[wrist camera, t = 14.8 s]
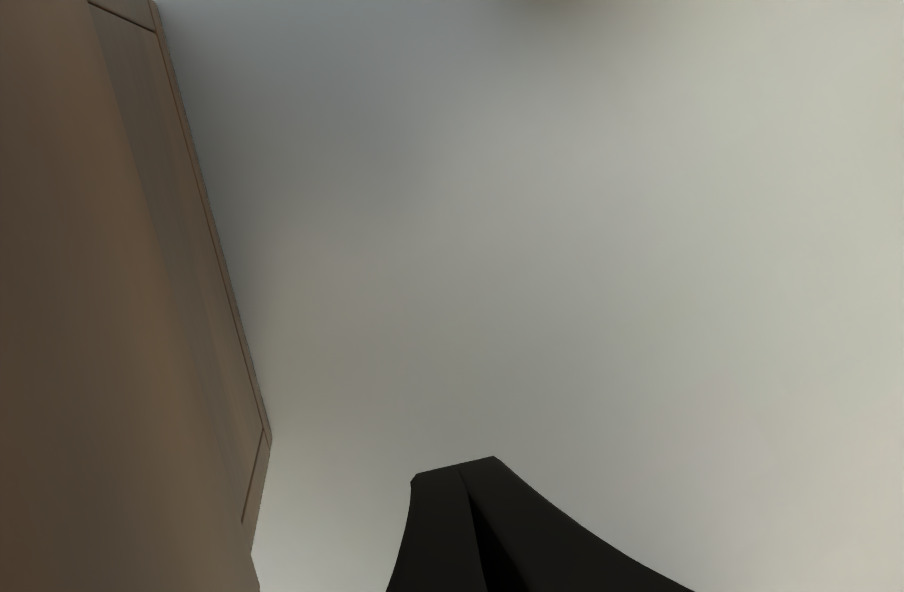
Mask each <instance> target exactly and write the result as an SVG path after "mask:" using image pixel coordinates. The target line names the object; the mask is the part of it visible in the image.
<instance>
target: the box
mask: <svg viewBox="0 0 904 592" xmlns="http://www.w3.org/2000/svg"><path fill="white" fill-rule="evenodd" d="M87 2H88V6H89V9H90V12H91V16H92V19H93V22H94V26H95V29H96V33H97V36H98V39H99V43H100V46H101V50H102V53H103V56H104V60H105V63H106V66H107V70H108V73H109V77H110V80H111V83H112V87H113V90H114V94H115V97H116V100H117V104H118V107H119V111H120V114H121V117H122V121H123V124H124V127H125V131H126V134H127V138H128V141H129V144H130V148H131V151H132V155H133V158H134V161H135V165H136V168H137V171H138V175H139V178H140V182H141V185H142V188H143V192H144V195H145V199H146V202H147V205H148V209H149V212H150V215H151V219H152V222H153V226H154V229H155V232H156V236H157V239H158V243H159V246H160V249H161V253H162V256H163V260H164V263H165V266H166V270H167V273H168V276H169V280H170V283H171V287H172V290H173V293H174V297H175V300H176V304H177V307H178V310H179V314H180V317H181V320H182V324H183V327H184V331H185V334H186V337H187V341H188V344H189V348H190V351H191V354H192V358H193V361H194V364H195V368H196V371H197V375H198V378H199V381H200V385H201V388H202V392H203V395H204V398H205V402H206V405H207V409H208V412H209V415H210V419H211V422H212V425H213V429H214V432H215V436H216V439H217V442H218V446H219V449H220V453H221V456H222V459H223V463H224V466H225V469H226V473H227V476H228V480H229V483H230V486H231V490H232V493H233V497H234V500H235V503H236V507H237V510H238V513H239V517H240V520H241V524H242V527H243V530H244V534H245V537H246V541H247V544H248V547H249V551H250V554H251V550H252V545H253V540H254V534H255V529H256V524H257V519H258V514H259V509H260V504H261V498H262V493H263V488H264V483H265V478H266V473H267V468H268V463H269V457H270V449H271V444H272V436H271V432H270V428H269V425H268V421H267V417H266V413H265V410H264V406H263V402H262V399H261V395H260V391H259V387H258V384H257V380H256V376H255V372H254V369H253V365H252V361H251V357H250V354H249V350H248V346H247V342H246V339H245V335H244V331H243V327H242V324H241V320H240V316H239V313H238V309H237V305H236V301H235V298H234V294H233V290H232V286H231V283H230V279H229V275H228V271H227V268H226V264H225V260H224V256H223V253H222V249H221V245H220V242H219V238H218V234H217V230H216V227H215V223H214V219H213V215H212V212H211V208H210V204H209V200H208V197H207V193H206V189H205V185H204V182H203V178H202V174H201V170H200V167H199V163H198V159H197V156H196V152H195V148H194V144H193V141H192V137H191V133H190V129H189V126H188V122H187V118H186V114H185V111H184V107H183V103H182V99H181V96H180V92H179V88H178V85H177V81H176V77H175V73H174V70H173V66H172V62H171V58H170V55H169V51H168V47H167V43H166V40H165V36H164V32H163V28H162V25H161V21H160V17H159V13H158V10H157V6H156V3H155V2H154V0H87Z"/></svg>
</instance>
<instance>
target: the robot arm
mask: <svg viewBox="0 0 904 592" xmlns="http://www.w3.org/2000/svg"><path fill="white" fill-rule="evenodd" d="M410 483H411V496H410V505H409V512H408V517H407V522H406V527H405V531H404V535H403V538H402V542H401V546H400V549H399V553H398V557H397V560H396V564H395V567H394V570H393V573H392V576H391V579H390V582H389V584H388V587H387V590H386V592H694V591H692V590H690V589H688V588H686V587H684V586H682V585H680V584H678V583H676V582H675V581H673V580H671V579H669V578H667V577H665V576H663V575H661V574H659V573H657V572H655V571H653V570H652V569H650V568H648V567H646V566H644V565H642V564H641V563H639V562H637V561H635V560H634V559H632V558H630V557H628V556H627V555H625V554H624V553H622V552H621V551H619V550H617V549H616V548H614V547H613V546H611V545H610V544H608V543H607V542H605V541H603V540H602V539H600V538H599V537H597V536H596V535H594V534H593V533H592V532H590V531H589V530H587V529H586V528H584V527H583V526H581V525H580V524H579V523H577V522H576V521H575V520H573V519H572V518H571V517H569V516H568V515H567V514H565V513H564V512H562V511H561V510H560V509H558V508H557V507H556V506H554V505H553V504H552V503H550V502H549V501H548V500H547V499H545V498H544V497H543V496H542V495H540V494H539V493H538V492H537V491H535V490H534V489H533V488H532V487H531V486H529V485H528V484H527V483H526V482H525V481H523V480H522V479H521V478H520V477H519V476H518V475H516V474H515V473H514V472H513V471H512V470H511V469H510V468H509V467H507V466H506V465H505V464H504V463H503V462H502V461H500V460H499V459H498V458H496V457H495V456H490V457H486V458H482V459H477V460H473V461H469V462H464V463H460V464H456V465H451V466H447V467H443V468H438V469H434V470H430V471H425V472H421V473H417V474H416V475H415V476H414V478H413V479H412V480H411V482H410Z"/></svg>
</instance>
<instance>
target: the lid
mask: <svg viewBox="0 0 904 592" xmlns="http://www.w3.org/2000/svg"><path fill="white" fill-rule="evenodd" d="M0 592H260V585H259V581H258V578H257V574H256V571H255V568H254V564H253V561H252V558H251V554H250V551H249V547H248V544H247V541H246V537H245V534H244V530H243V527H242V524H241V520H240V517H239V513H238V510H237V507H236V503H235V500H234V497H233V493H232V490H231V486H230V483H229V480H228V476H227V473H226V469H225V466H224V463H223V459H222V456H221V453H220V449H219V446H218V442H217V439H216V436H215V432H214V429H213V425H212V422H211V419H210V415H209V412H208V409H207V405H206V402H205V398H204V395H203V392H202V388H201V385H200V381H199V378H198V375H197V371H196V368H195V364H194V361H193V358H192V354H191V351H190V348H189V344H188V341H187V337H186V334H185V331H184V327H183V324H182V320H181V317H180V314H179V310H178V307H177V304H176V300H175V297H174V293H173V290H172V287H171V283H170V280H169V276H168V273H167V270H166V266H165V263H164V260H163V256H162V253H161V249H160V246H159V243H158V239H157V236H156V232H155V229H154V226H153V222H152V219H151V215H150V212H149V209H148V205H147V202H146V199H145V195H144V192H143V188H142V185H141V182H140V178H139V175H138V171H137V168H136V165H135V161H134V158H133V155H132V151H131V148H130V144H129V141H128V138H127V134H126V131H125V127H124V124H123V121H122V117H121V114H120V111H119V107H118V104H117V100H116V97H115V94H114V90H113V87H112V83H111V80H110V77H109V73H108V70H107V66H106V63H105V60H104V56H103V53H102V50H101V46H100V43H99V39H98V36H97V33H96V29H95V26H94V22H93V19H92V16H91V12H90V9H89V6H88V2H87V0H0Z"/></svg>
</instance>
